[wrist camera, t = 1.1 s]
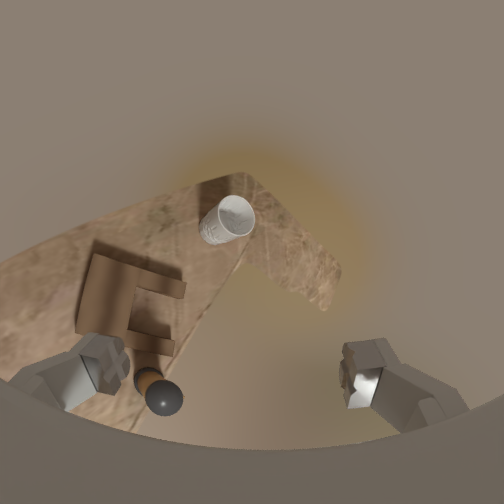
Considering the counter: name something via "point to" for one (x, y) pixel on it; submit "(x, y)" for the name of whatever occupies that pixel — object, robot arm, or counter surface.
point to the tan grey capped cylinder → (158, 392)
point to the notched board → (122, 302)
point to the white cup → (227, 220)
